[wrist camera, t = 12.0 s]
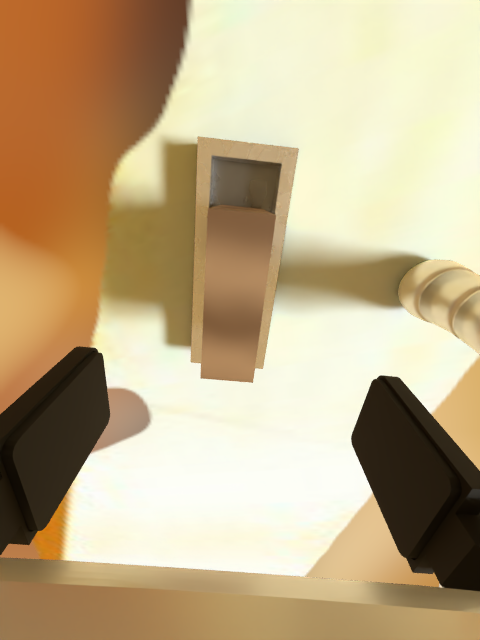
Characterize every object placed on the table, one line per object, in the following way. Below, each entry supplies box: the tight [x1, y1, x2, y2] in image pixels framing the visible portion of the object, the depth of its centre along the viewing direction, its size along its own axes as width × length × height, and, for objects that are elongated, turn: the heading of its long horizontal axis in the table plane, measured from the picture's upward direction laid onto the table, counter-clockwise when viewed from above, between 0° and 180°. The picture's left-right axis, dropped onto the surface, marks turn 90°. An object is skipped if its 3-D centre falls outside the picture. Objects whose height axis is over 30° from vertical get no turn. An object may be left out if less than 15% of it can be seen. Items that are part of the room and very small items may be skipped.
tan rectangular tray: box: [191, 137, 299, 369], centre depth 28 cm, size 22×9×4 cm, turn 174°
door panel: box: [201, 205, 276, 383], centre depth 24 cm, size 12×4×12 cm, turn 175°
